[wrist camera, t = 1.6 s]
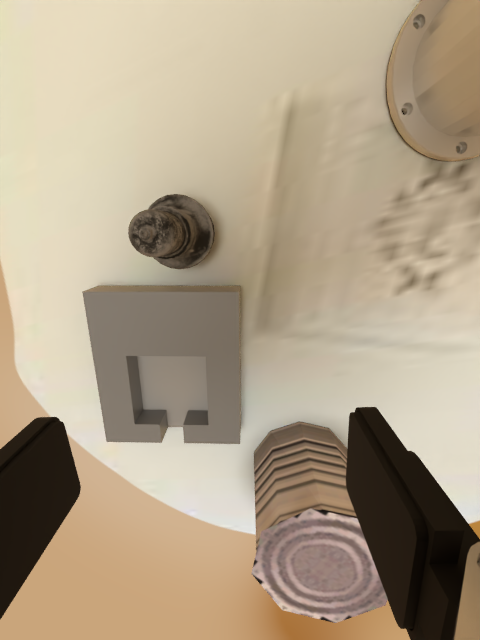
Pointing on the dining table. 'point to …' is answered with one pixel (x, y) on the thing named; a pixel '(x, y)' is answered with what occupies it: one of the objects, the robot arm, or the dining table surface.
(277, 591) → the can
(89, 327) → the plate
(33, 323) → the dining table surface
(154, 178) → the dining table surface
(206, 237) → the dark chess piece
